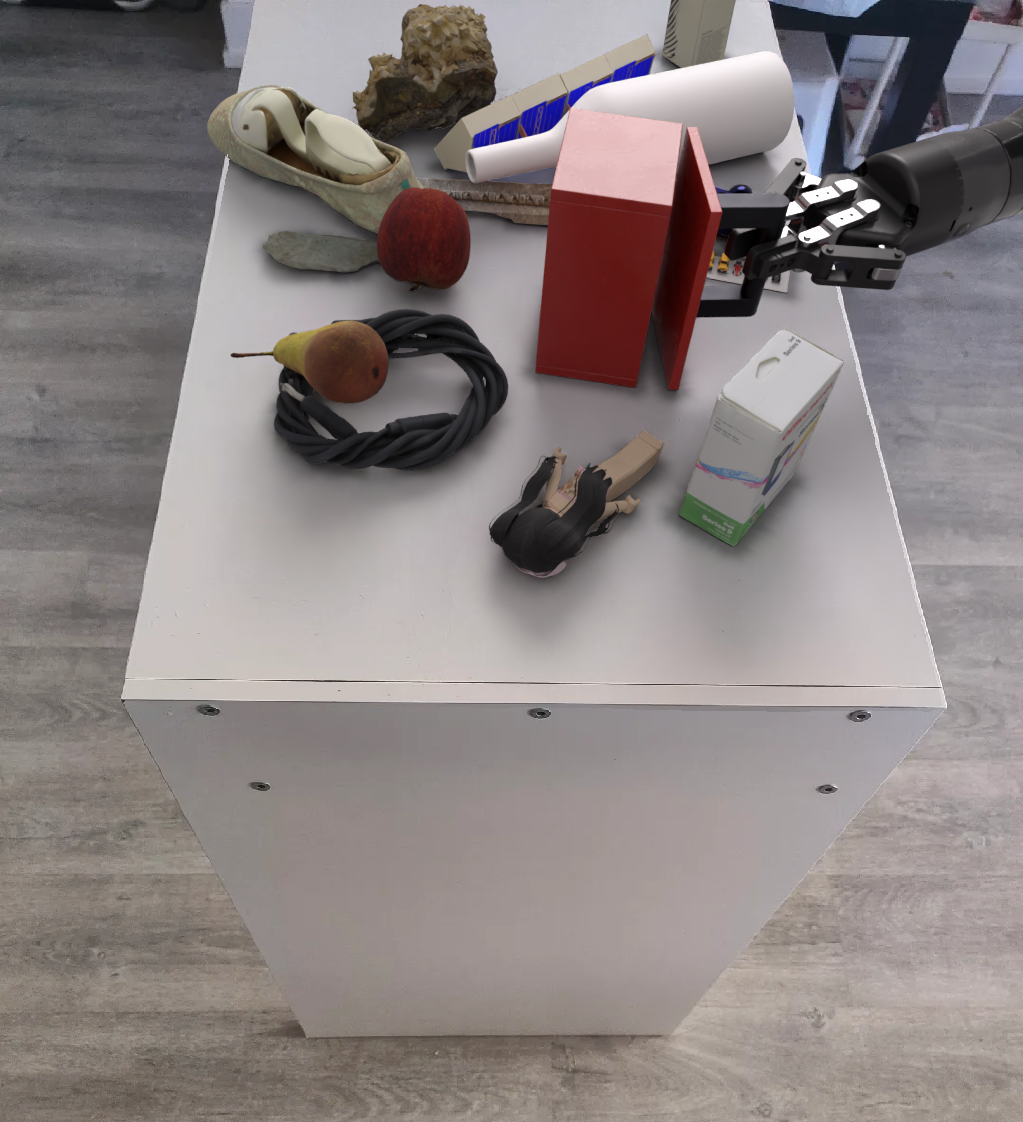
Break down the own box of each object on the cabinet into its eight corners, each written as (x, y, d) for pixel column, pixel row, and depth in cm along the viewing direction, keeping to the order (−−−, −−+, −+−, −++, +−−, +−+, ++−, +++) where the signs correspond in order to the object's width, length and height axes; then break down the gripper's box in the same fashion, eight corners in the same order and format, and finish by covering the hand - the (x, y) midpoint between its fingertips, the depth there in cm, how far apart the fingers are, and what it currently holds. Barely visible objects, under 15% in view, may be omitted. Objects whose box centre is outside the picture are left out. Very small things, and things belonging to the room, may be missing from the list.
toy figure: (582, 432, 77) (472, 555, 70) (603, 371, 72) (486, 497, 65) (662, 481, 76) (559, 611, 69) (689, 423, 71) (581, 557, 64)
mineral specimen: (359, 68, 100) (350, -46, 92) (490, 70, 101) (493, -42, 93) (355, 155, 93) (346, 41, 85) (497, 157, 94) (501, 44, 85)
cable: (507, 352, 81) (510, 306, 77) (506, 486, 74) (509, 443, 70) (289, 343, 80) (281, 297, 76) (267, 478, 73) (257, 434, 69)
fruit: (367, 309, 67) (245, 282, 73) (334, 391, 67) (215, 357, 73) (414, 348, 71) (296, 320, 77) (383, 424, 72) (267, 390, 78)
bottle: (807, 99, 89) (496, 169, 82) (770, 169, 97) (482, 238, 89) (767, 28, 91) (458, 89, 83) (733, 102, 99) (447, 164, 91)
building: (647, 30, 95) (666, 72, 96) (610, 64, 101) (629, 103, 102) (462, 116, 87) (485, 161, 88) (433, 149, 92) (455, 191, 93)
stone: (400, 234, 87) (394, 264, 83) (399, 251, 88) (394, 282, 85) (268, 219, 86) (257, 249, 83) (270, 237, 87) (259, 267, 84)
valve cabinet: (647, 307, 85) (683, 122, 71) (635, 388, 80) (672, 205, 66) (551, 293, 85) (570, 107, 72) (534, 372, 80) (551, 188, 67)
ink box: (735, 447, 77) (778, 320, 67) (795, 481, 76) (848, 355, 65) (675, 516, 73) (710, 391, 63) (736, 552, 72) (783, 431, 62)
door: (722, 306, 85) (771, 126, 72) (744, 388, 80) (801, 211, 67) (650, 307, 84) (686, 126, 71) (668, 389, 80) (710, 211, 66)
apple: (490, 280, 85) (493, 191, 78) (427, 327, 82) (425, 238, 75) (423, 241, 87) (421, 151, 80) (360, 285, 84) (352, 196, 77)
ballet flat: (252, 91, 95) (218, 15, 88) (461, 190, 88) (444, 116, 81) (195, 154, 94) (157, 81, 86) (404, 260, 86) (381, 190, 79)
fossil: (599, 187, 92) (602, 185, 88) (595, 228, 93) (598, 228, 89) (399, 173, 92) (394, 170, 88) (399, 214, 93) (393, 213, 89)
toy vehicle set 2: (787, 292, 86) (789, 284, 86) (694, 274, 87) (695, 267, 86) (790, 269, 88) (792, 262, 87) (698, 252, 89) (700, 245, 88)
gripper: (887, 95, 76) (695, 150, 71) (1014, 199, 70) (813, 267, 65) (853, 189, 82) (674, 245, 77) (966, 291, 77) (780, 359, 72)
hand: (739, 255), depth 71 cm, fingers closed on door
